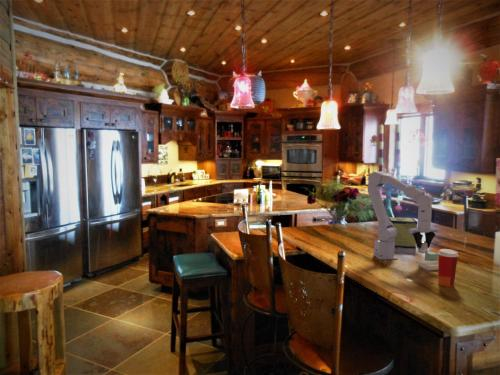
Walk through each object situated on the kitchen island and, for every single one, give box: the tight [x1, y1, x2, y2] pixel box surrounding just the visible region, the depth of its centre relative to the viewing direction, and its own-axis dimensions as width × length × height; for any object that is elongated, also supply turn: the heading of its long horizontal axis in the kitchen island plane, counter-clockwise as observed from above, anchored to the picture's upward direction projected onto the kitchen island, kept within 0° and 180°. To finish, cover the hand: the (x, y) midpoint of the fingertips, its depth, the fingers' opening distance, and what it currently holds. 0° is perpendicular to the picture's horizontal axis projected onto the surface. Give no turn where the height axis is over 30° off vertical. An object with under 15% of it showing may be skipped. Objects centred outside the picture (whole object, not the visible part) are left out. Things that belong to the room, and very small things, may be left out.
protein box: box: [388, 216, 418, 250], centre depth 217 cm, size 10×16×16 cm
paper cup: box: [437, 248, 460, 288], centre depth 157 cm, size 8×8×14 cm
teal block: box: [424, 251, 438, 261], centre depth 186 cm, size 4×4×5 cm
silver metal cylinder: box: [417, 240, 429, 254], centre depth 182 cm, size 4×4×5 cm
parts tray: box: [417, 260, 438, 271], centre depth 179 cm, size 12×7×2 cm, turn 99°
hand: (423, 247), depth 182 cm, fingers closed on silver metal cylinder, 4 cm apart
